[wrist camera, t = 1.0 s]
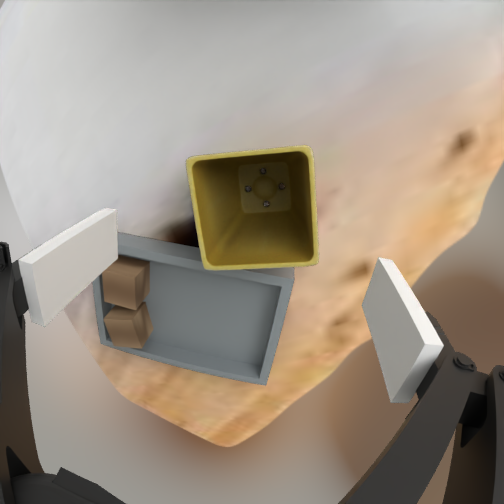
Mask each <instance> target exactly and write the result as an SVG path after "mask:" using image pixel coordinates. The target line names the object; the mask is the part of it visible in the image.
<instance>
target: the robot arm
mask: <svg viewBox="0 0 504 504" xmlns="http://www.w3.org/2000/svg"><path fill="white" fill-rule="evenodd" d="M117 259H118V242H117V210H116V209H110V208H104V209H102V210H100V211H98V212H96V213H95V214H93V215H91V216H89V217H87V218H86V219H84V220H82V221H80V222H79V223H77V224H75V225H74V226H72V227H70V228H68V229H67V230H65V231H63V232H62V233H60V234H58V235H57V236H55V237H53V238H52V239H50V240H48V241H47V242H45V243H44V244H41V245H40V246H38V247H37V248H35V249H34V250H32V251H30V252H29V253H27V254H26V255H24V256H23V257H21V258H20V259H18V260H16V261H15V262H13V263H11V257H10V252H9V245H8V244H7V243H5V242H0V504H125V503H124V502H123V501H121V500H119V499H118V498H116V497H115V496H113V495H112V494H111V493H109V492H107V491H106V490H105V489H103V488H102V487H101V486H99V485H98V484H96V483H93V482H91V481H89V480H87V479H84V478H82V477H80V476H78V475H76V474H74V473H72V472H70V471H68V470H66V469H64V468H62V467H61V468H60V470H59V472H58V473H57V475H54V474H48V473H44V471H43V469H42V466H41V464H40V462H39V459H38V454H37V450H36V444H35V439H34V433H33V427H32V420H31V413H30V405H29V396H28V386H27V372H26V353H25V352H26V350H25V319H24V315H23V314H24V313H25V312H26V311H27V310H28V309H29V313H30V316H31V320H32V322H34V323H36V324H38V325H41V326H43V327H46V326H47V325H48V324H49V323H50V322H51V321H52V320H53V319H54V318H55V317H56V316H57V315H58V314H59V313H60V312H61V311H62V310H63V309H64V308H65V307H66V306H67V305H68V304H69V303H70V302H71V301H72V300H73V299H74V298H75V297H76V296H77V295H79V294H80V293H81V292H82V291H83V290H84V289H85V288H86V287H87V286H88V285H89V284H90V283H91V282H92V281H93V280H95V279H96V278H97V277H98V276H99V275H100V274H101V273H102V272H103V271H104V270H106V269H107V268H108V267H109V266H110V265H111V264H112V263H113V262H114V261H116V260H117ZM362 308H363V311H364V314H365V317H366V320H367V323H368V326H369V329H370V332H371V336H372V339H373V342H374V345H375V348H376V352H377V355H378V359H379V362H380V365H381V369H382V372H383V376H384V379H385V383H386V387H387V391H388V394H389V398H390V402H391V403H409V402H410V400H411V399H412V397H413V396H414V394H415V393H417V395H418V398H419V400H418V402H417V403H416V405H415V406H414V407H413V409H412V410H411V412H410V413H409V414H408V416H407V417H406V418H405V419H406V420H405V421H404V423H403V424H402V426H401V427H400V429H399V430H398V431H397V433H396V434H395V436H394V437H393V439H392V440H391V441H390V442H389V444H388V445H387V446H386V448H385V449H384V450H383V452H382V453H381V454H380V456H379V457H378V458H377V459H376V461H375V462H374V463H373V464H372V466H371V467H370V468H369V469H368V470H367V472H366V473H365V474H364V475H363V477H362V478H361V479H360V480H359V481H358V482H357V483H356V485H355V486H354V487H353V488H352V489H351V490H350V492H348V494H347V495H346V496H345V497H344V498H343V499H342V500H341V501H340V502H339V503H338V504H417V502H418V500H419V499H420V497H421V496H422V494H423V492H424V491H425V489H426V487H427V485H428V484H429V482H430V480H431V478H432V476H433V474H434V473H435V471H436V469H437V467H438V465H439V463H440V461H441V459H442V457H443V455H444V453H445V451H446V449H447V447H448V445H449V442H450V440H451V438H452V436H453V434H454V431H455V429H456V432H455V440H454V448H453V454H452V460H451V466H450V472H449V477H448V482H447V487H446V491H445V495H444V499H443V503H442V504H504V366H501V365H497V366H495V367H494V368H493V369H492V371H491V373H490V374H489V375H488V374H484V373H481V372H478V371H477V367H476V365H475V363H474V362H473V361H472V360H471V359H470V358H469V357H468V356H466V355H464V354H462V353H459V352H455V351H454V349H453V347H452V346H451V344H450V342H449V340H448V338H447V337H446V335H444V331H443V330H442V329H441V327H440V325H439V323H438V321H437V320H436V319H435V318H434V317H433V316H432V315H431V314H430V313H429V312H424V310H423V308H422V307H421V305H420V303H419V302H418V300H417V298H416V297H415V295H414V293H413V292H412V290H411V289H410V287H409V285H408V284H407V282H406V281H405V279H404V278H403V276H402V274H401V273H400V271H399V270H398V268H397V267H396V265H395V264H394V262H393V261H392V260H389V259H384V258H380V257H378V259H377V263H376V266H375V269H374V272H373V275H372V278H371V281H370V283H369V286H368V289H367V292H366V295H365V298H364V300H363V303H362Z"/></svg>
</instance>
